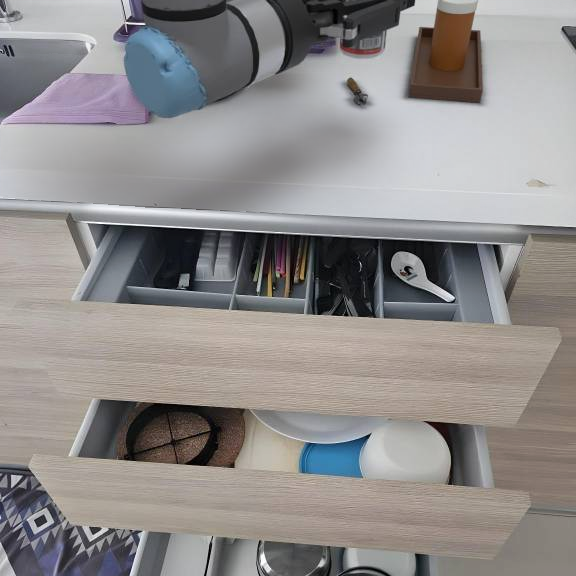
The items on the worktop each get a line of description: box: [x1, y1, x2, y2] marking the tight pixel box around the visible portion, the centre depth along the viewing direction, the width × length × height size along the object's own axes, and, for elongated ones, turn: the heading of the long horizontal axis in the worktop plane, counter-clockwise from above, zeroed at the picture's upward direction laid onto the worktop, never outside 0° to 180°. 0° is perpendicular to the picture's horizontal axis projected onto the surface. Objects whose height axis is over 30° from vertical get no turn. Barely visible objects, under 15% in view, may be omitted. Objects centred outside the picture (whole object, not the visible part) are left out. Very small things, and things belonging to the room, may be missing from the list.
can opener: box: [346, 76, 369, 106], centre depth 93 cm, size 9×2×1 cm, turn 6°
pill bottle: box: [339, 0, 388, 60], centre depth 70 cm, size 6×6×10 cm
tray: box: [407, 26, 484, 104], centre depth 100 cm, size 27×11×2 cm, turn 168°
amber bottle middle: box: [429, 0, 479, 71], centre depth 97 cm, size 6×6×10 cm
